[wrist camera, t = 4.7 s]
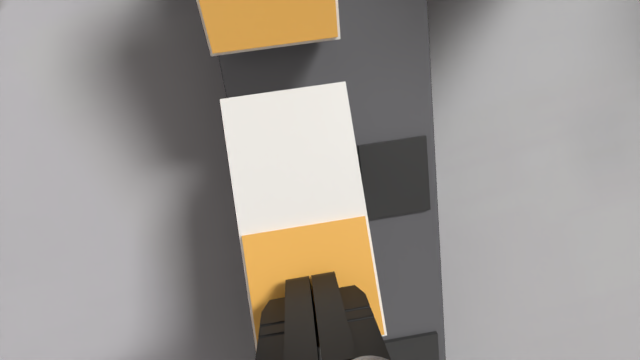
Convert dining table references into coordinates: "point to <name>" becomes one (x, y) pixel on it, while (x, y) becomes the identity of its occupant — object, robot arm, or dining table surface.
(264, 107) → the block
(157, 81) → the dining table surface
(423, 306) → the power strip
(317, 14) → the block
